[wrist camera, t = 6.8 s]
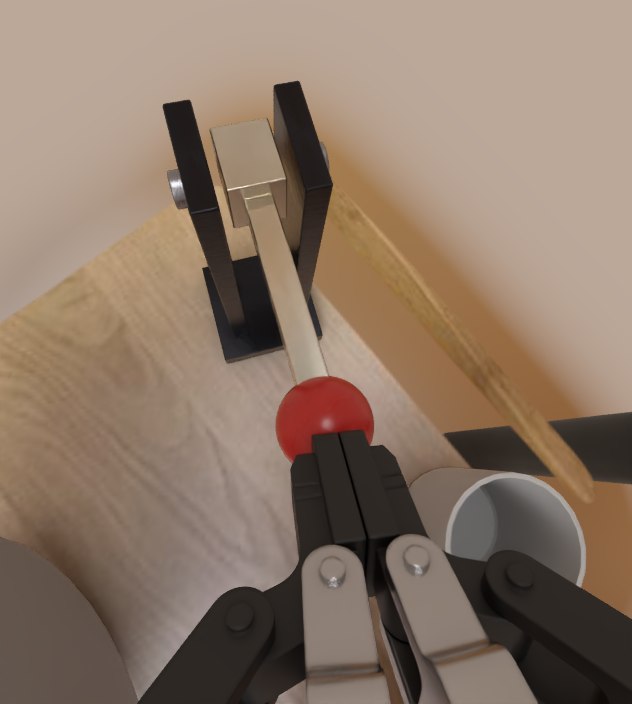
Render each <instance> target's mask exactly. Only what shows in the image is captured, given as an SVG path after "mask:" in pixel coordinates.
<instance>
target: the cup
mask: <svg viewBox="0 0 632 704" xmlns="http://www.w3.org/2000/svg"><path fill="white" fill-rule="evenodd" d="M409 492H410V494H411V497H412V499H413V501H414V504H415V506H416V509H417V511H418V514H419V516H420V518H421V521H422V523H423V526H424V528H425V531H426V532H427V534H428V536H429V538H430V539H431V540H432V541H434V542H435V543H436V544H437V545H438V546H439V547H440V548H441V549H442V550H444V551H445V552H447V553H449V554H452V555H454V556H458V557H462V558H467V559H473V560H479V561H485V562H487V561H488V559H489V557H490V556H491V555H493V554H494V553H496V552H498V551H502V550H514V551H518V552H521V553H524V554H526V555H528V556H530V557H532V558H533V559H535V560H536V561H538V562H540V563H541V564H543V565H545V566H546V567H548V568H549V569H551V570H553V571H554V572H556V573H558V574H559V575H561V576H562V577H564V578H566V579H567V580H569V581H570V582H572V583H574V584H575V585H577V586H579V587H580V588H581V585H582V581H583V578H584V574H585V570H586V547H585V542H584V537H583V532H582V529H581V527H580V524H579V522H578V520H577V518H576V515H575V513H574V511H573V510H572V509H571V507H570V506H569V505H568V503H567V502H566V501H565V499H564V498H563V497H562V495H560V494H559V493H558V492H557V491H555V490H554V489H553V488H552V487H551V486H549V485H548V484H547V483H545V482H543V481H541V480H539V479H536V478H534V477H532V476H530V475H525V474H519V473H513V472H504V471H492V470H481V469H470V468H459V467H447V468H437V469H434V470H432V471H429V472H427V473H424V474H423V475H422V476H420V477H419V478H418V479H417V480H415V481H414V482H413V483H412V485H411V486H410V488H409Z"/></svg>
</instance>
